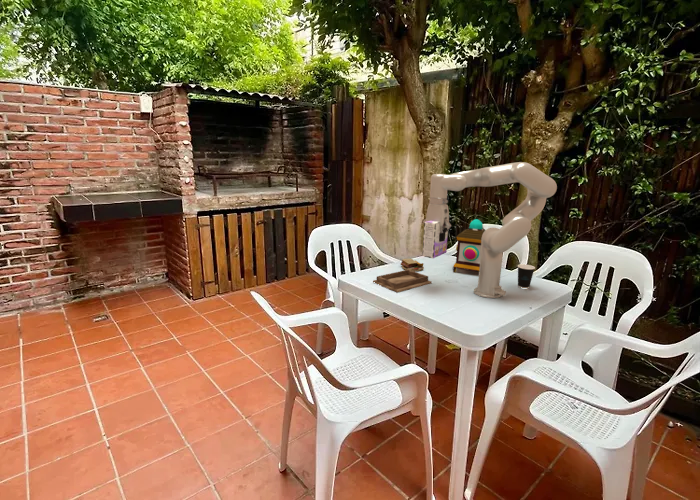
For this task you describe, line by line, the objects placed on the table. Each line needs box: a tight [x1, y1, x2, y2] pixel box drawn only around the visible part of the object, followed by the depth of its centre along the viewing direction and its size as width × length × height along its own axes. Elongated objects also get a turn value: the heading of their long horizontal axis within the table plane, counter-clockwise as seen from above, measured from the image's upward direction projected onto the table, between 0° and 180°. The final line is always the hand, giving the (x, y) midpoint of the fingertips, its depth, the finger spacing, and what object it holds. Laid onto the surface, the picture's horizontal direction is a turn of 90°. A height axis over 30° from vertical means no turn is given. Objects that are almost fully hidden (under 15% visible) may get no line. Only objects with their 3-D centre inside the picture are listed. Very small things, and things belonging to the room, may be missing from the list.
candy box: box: [422, 221, 449, 259], centre depth 172 cm, size 14×6×16 cm, turn 140°
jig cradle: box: [372, 269, 433, 294], centre depth 188 cm, size 18×24×4 cm
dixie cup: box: [517, 263, 536, 288], centre depth 184 cm, size 8×8×11 cm
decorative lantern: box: [452, 218, 486, 273], centre depth 208 cm, size 20×20×30 cm
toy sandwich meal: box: [400, 258, 425, 272], centre depth 214 cm, size 12×14×5 cm
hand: (435, 239), depth 173 cm, fingers closed on candy box, 6 cm apart
